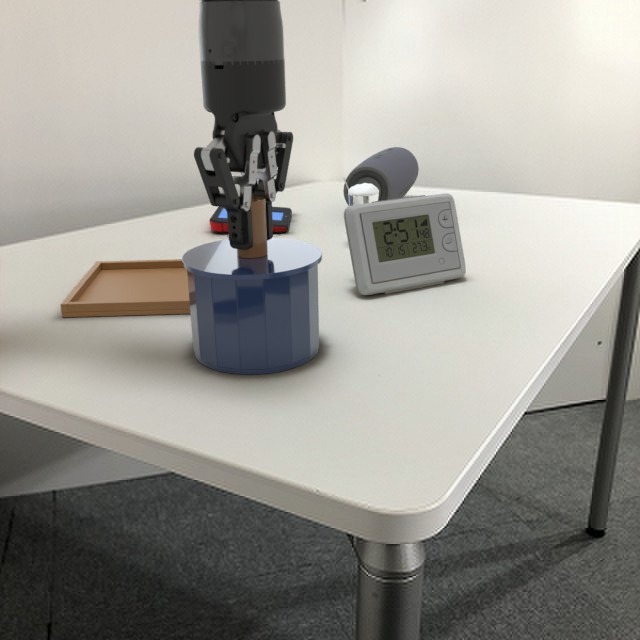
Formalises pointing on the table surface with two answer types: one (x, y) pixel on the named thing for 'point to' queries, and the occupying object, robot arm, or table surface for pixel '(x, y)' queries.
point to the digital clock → (404, 243)
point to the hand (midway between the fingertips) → (251, 243)
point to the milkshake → (362, 193)
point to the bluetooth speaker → (386, 173)
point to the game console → (279, 221)
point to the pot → (255, 322)
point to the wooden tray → (130, 289)
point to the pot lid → (253, 254)
